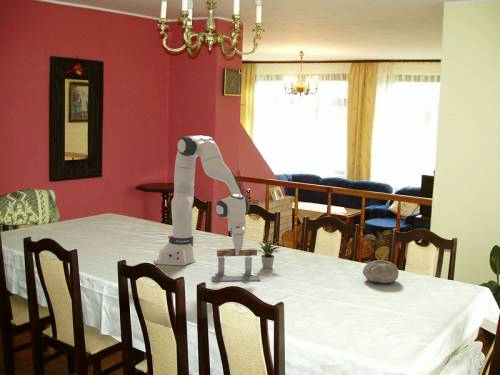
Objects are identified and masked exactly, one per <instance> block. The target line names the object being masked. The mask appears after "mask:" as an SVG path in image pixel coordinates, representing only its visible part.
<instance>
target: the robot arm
mask: <svg viewBox="0 0 500 375" xmlns="http://www.w3.org/2000/svg"><path fill="white" fill-rule="evenodd" d="M176 149H177V153H176V156H175V163H174V175H173V177H174V178H173V184H174V185H173V188H174V189H173V197H172V199H171V201H170V202H171V206H170V207H171V220H172V235H171V234H169V235H168V243H166V244H165V245H164V246H162V247H161V248H160V249H159V252H158V255H157V256H156V257H154V264H156V265H165V266H166V265H168V266H169V265H170V266H186V265H189V264H193V263H195V262H196V258H195V252H194V239H195V238H194V235H193V232H194V231H193V227H194V226H193V225H194V223H193V204H194V200H195V197H194V196H195V179H196V178H195V175H196V160H197V158H198V157H199V159H200V162H201V165H202V169H203V171H204V173H205V175H206V176H208V177H209V178H211V179H213V180H217V181H221V182H223V183H225V185H226V186H227V188H228V190H229V193H231V194H229V196H227V197H226V198H222V199H218V200H217V202H215V205H214V206H215V207H214V211H215V213H216V215H217V216H218V217H219V218H221V219H226V218H227V231H229V232H230V234H231V241H232V245H233V249H235V255H239V250H240V249H243V244H244V235H245V233H246V230H247V228H246V226H247V224H246V223H247V220H246V215H247V214H248V213H249V210H250V203H249V200H248V199H247V198H246V196H245V194H244V193H243V190H242V187H241V186H240V184H239V182H238V180H237V178H236V176H235V174H234V172H233V171H232V169H230V168H229V167H228V165H227V164H226V162H224V159H223V156H222V154H221V150H220V149H219V146H218V144H217V143H216V141H215V140H214V138H213V137H211V136H209V135H200V134H199V135H197V134H196V135H184V136H181V137H179V139H178V140H177V143H176Z"/></svg>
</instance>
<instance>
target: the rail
mask: <svg viewBox="0 0 500 375" xmlns="http://www.w3.org/2000/svg"><path fill="white" fill-rule="evenodd" d="M218 256H224V257H245V256H251V257H253V256H258V248H256V247H254V248H253V247H252V248H250V247H249V248H247V247H246V248H243V247H242V249H240V250H239V255H235V249H234V248H217V249H216V257H218Z"/></svg>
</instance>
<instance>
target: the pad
mask: <svg viewBox="0 0 500 375" xmlns="http://www.w3.org/2000/svg"><path fill="white" fill-rule="evenodd" d="M211 281H212V283H213V282H214V283H215V282H224V283H225V282H260V281H261V278H260V275H254V276H244V275H226V276H215V275H213V276H211Z"/></svg>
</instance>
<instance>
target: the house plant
mask: <svg viewBox="0 0 500 375" xmlns="http://www.w3.org/2000/svg"><path fill="white" fill-rule="evenodd" d="M274 240H275V239H274V238H272V239H271V240H270V241H269V237H267V242H266V241H265V240H260V241H258V242H257V243H258V244H260V245H261V246H260V249H261V250H260V249H257V252H261V253H263V254H261V263H262V268H263V269H267V270H268V269H272V268H273V265H274V262H275V255H274V253H278V254H279V250H278V249H279V248H280V249H282V247H280V246H276V245H277V243H279V241H278V242H277V241H276V243H275V242H274ZM262 242H264V244H263V243H262ZM273 242H274V244H273Z"/></svg>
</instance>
